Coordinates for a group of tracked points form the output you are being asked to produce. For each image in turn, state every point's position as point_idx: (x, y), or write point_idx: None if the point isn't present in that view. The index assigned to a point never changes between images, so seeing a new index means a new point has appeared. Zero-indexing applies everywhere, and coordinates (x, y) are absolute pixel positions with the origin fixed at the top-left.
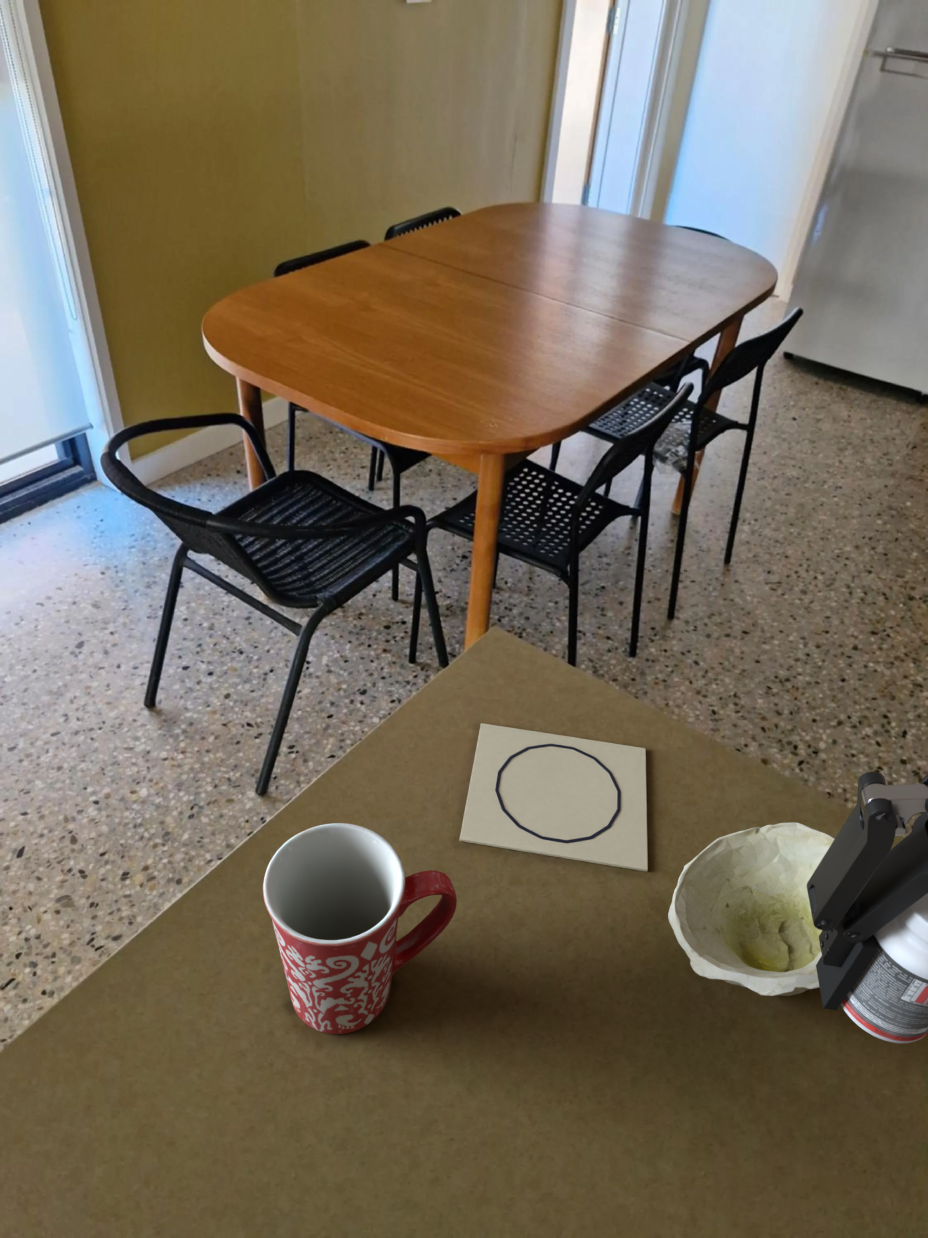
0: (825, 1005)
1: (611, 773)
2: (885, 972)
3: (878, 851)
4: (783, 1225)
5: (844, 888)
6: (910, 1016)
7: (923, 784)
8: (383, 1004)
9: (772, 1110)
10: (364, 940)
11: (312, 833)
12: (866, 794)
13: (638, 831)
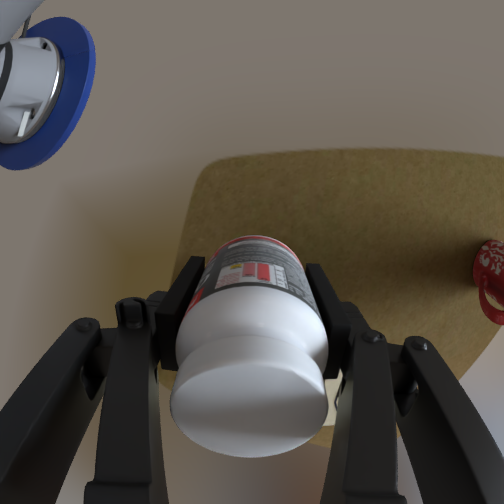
0: (320, 266)
1: (336, 410)
2: (310, 297)
3: (493, 488)
4: (287, 152)
5: (462, 402)
6: (261, 252)
7: None
8: (479, 256)
9: (280, 219)
10: None
11: None
12: None
13: (329, 382)
